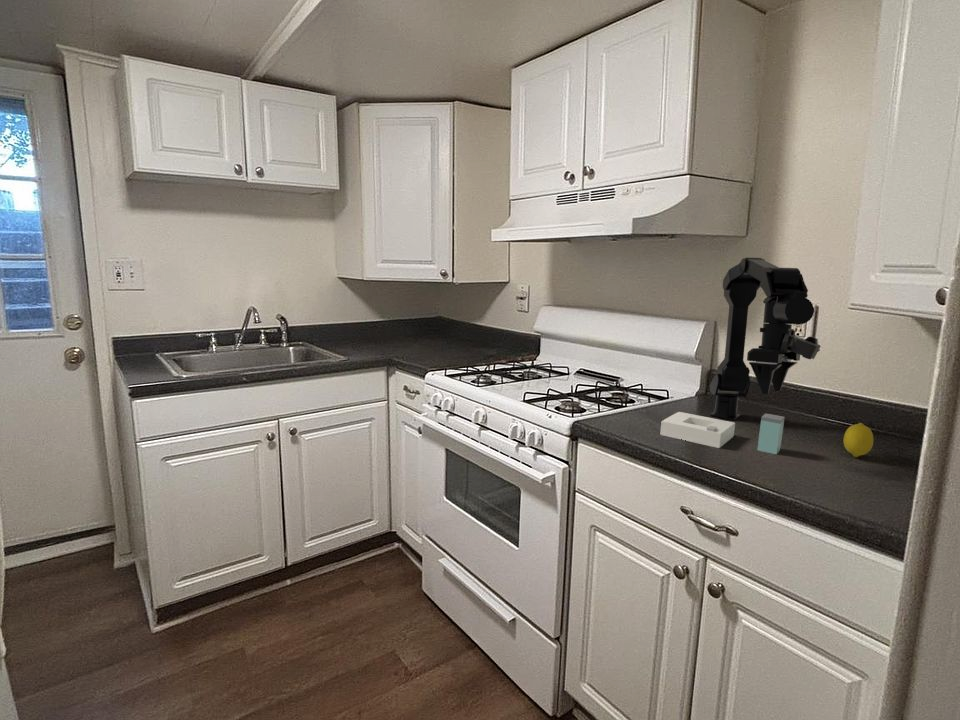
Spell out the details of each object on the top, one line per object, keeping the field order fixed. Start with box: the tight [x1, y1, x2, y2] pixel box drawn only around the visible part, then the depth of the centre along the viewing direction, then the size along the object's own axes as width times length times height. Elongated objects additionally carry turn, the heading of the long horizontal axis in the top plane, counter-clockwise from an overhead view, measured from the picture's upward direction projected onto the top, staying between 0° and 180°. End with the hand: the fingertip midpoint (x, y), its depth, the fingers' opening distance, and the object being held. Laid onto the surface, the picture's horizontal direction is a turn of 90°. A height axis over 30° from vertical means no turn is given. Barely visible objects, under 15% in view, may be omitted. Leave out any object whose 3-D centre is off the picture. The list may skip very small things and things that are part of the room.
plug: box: [756, 412, 785, 455], centre depth 127 cm, size 4×4×8 cm
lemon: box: [843, 422, 874, 458], centre depth 125 cm, size 6×6×8 cm
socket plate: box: [659, 411, 736, 449], centre depth 137 cm, size 12×14×4 cm
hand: (771, 392), depth 126 cm, fingers open, 9 cm apart
